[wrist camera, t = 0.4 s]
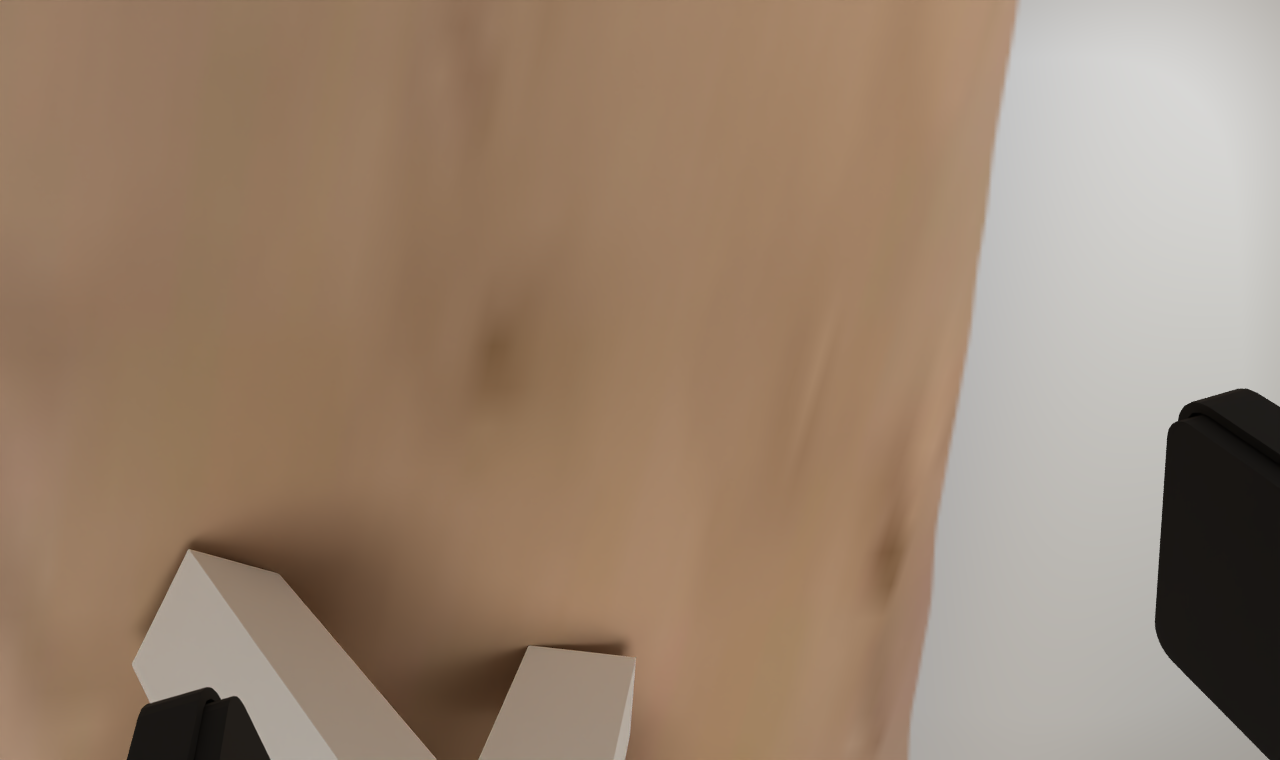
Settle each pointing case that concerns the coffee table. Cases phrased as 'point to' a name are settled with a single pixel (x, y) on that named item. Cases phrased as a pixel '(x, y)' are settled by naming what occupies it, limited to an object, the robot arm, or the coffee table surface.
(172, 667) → the white crossed bars sculpture
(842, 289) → the coffee table surface
